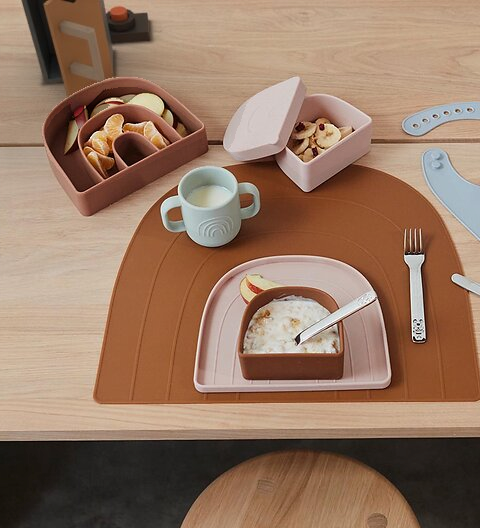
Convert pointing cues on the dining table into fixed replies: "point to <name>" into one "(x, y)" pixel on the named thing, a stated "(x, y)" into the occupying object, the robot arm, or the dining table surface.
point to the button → (118, 14)
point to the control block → (129, 28)
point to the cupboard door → (79, 42)
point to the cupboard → (43, 38)
